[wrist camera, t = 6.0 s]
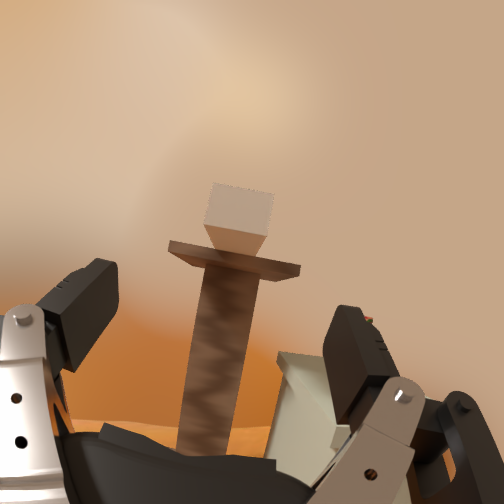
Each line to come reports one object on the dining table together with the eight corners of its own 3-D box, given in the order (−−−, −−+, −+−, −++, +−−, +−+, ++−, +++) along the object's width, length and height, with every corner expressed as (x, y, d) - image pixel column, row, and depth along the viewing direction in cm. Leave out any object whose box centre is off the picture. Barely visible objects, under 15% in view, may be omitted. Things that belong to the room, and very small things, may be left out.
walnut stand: (138, 511, 22) (170, 240, 26) (163, 453, 38) (193, 259, 42) (239, 531, 22) (300, 265, 27) (237, 467, 38) (276, 274, 43)
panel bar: (203, 224, 17) (212, 182, 17) (223, 265, 44) (226, 249, 45) (266, 235, 17) (274, 194, 17) (246, 270, 44) (250, 253, 45)
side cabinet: (259, 599, 11) (336, 426, 14) (247, 483, 34) (278, 351, 37) (367, 586, 11) (467, 416, 14) (318, 486, 34) (355, 360, 37)
